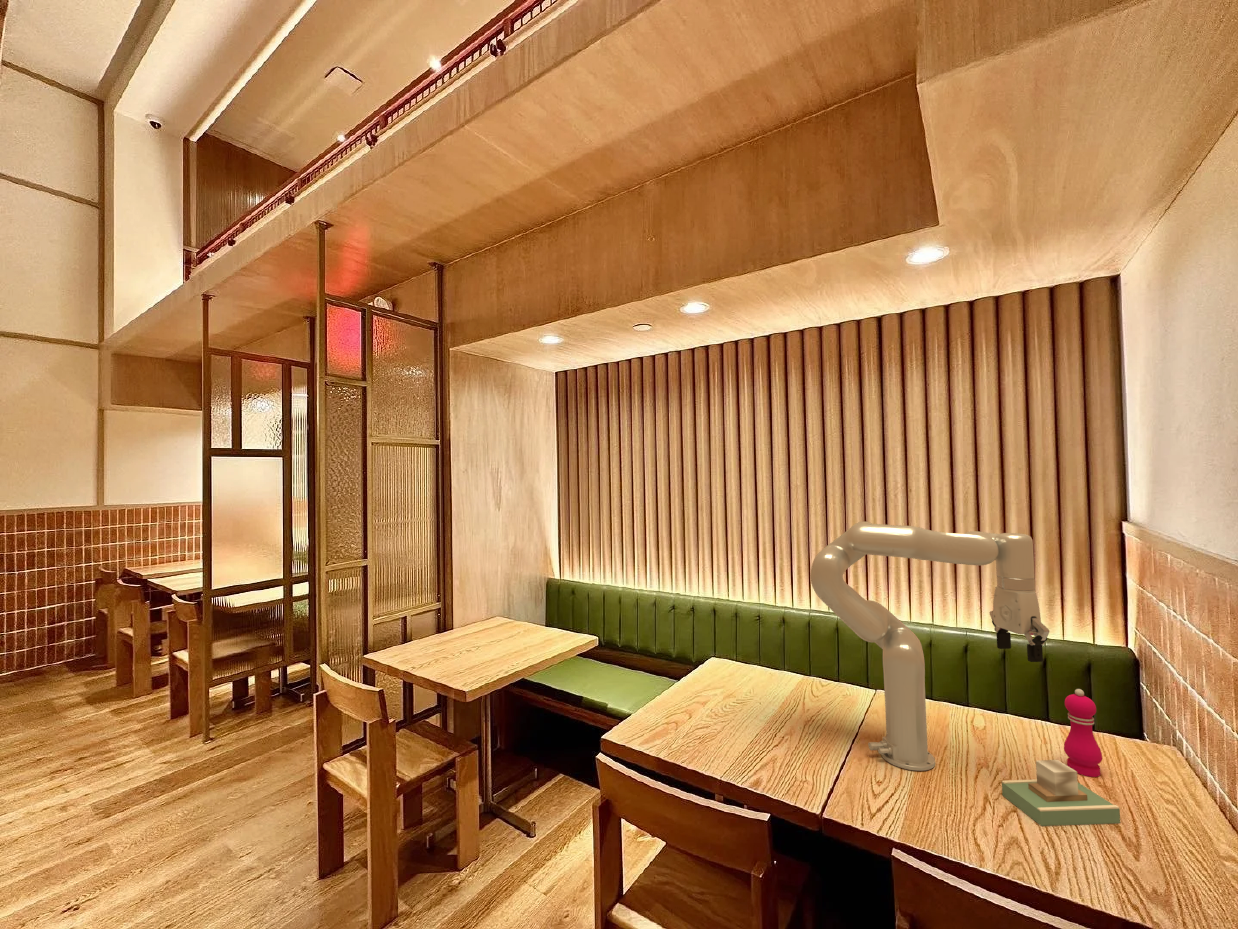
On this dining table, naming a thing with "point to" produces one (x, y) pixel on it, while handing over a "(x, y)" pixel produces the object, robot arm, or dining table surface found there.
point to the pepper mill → (1082, 736)
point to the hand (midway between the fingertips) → (1019, 654)
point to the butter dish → (1056, 782)
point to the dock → (1060, 806)
